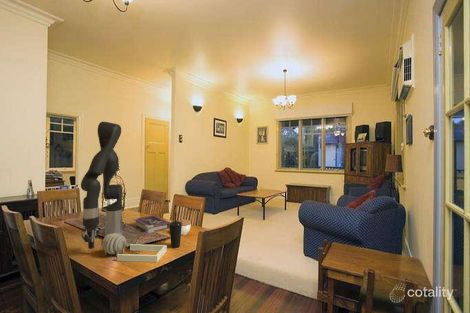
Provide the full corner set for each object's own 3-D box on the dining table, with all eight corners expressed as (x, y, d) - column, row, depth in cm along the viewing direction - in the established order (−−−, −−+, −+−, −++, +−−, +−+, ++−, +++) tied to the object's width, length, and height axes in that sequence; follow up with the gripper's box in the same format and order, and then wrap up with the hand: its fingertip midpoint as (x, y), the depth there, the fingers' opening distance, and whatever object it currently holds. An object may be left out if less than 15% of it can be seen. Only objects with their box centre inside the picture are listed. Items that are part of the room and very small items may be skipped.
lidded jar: (187, 236, 162) (187, 222, 162) (171, 235, 164) (171, 221, 164) (193, 231, 172) (193, 217, 172) (178, 230, 174) (178, 216, 174)
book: (133, 225, 187) (133, 218, 186) (153, 221, 198) (153, 215, 197) (147, 234, 168) (147, 226, 168) (169, 228, 179) (169, 221, 179)
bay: (117, 260, 126) (117, 254, 126) (130, 249, 141) (130, 244, 141) (157, 262, 125) (157, 256, 125) (166, 250, 139) (166, 245, 139)
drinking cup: (169, 244, 149) (169, 210, 148) (183, 244, 149) (183, 210, 149) (167, 249, 141) (167, 214, 140) (181, 249, 142) (181, 213, 141)
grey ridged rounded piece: (108, 249, 141) (108, 229, 141) (135, 252, 137) (135, 231, 137) (94, 257, 131) (93, 235, 130) (122, 260, 127) (122, 238, 127)
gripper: (91, 212, 141) (92, 243, 141) (75, 219, 128) (75, 253, 128) (104, 213, 140) (105, 243, 141) (89, 219, 127) (90, 253, 128)
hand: (91, 248), depth 134 cm, fingers closed
